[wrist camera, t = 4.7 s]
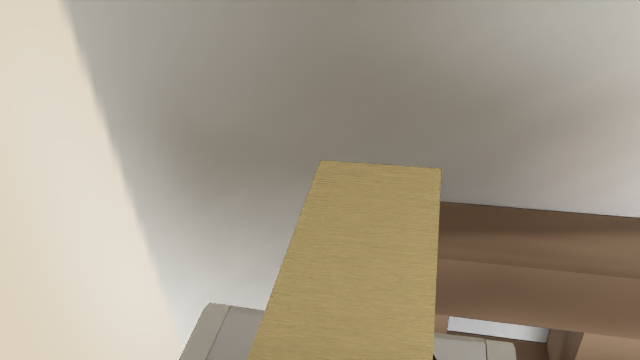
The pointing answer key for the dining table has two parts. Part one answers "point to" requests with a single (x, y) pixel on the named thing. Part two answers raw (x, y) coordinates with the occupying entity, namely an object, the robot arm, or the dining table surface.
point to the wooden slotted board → (542, 278)
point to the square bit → (358, 268)
